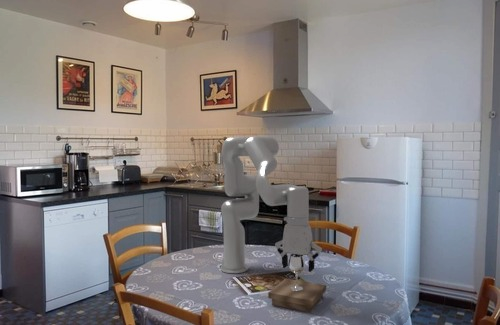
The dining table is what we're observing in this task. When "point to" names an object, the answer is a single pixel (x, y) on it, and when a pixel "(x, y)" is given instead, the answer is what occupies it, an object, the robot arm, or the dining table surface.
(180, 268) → the dining table surface
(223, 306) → the dining table surface
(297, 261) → the wineglass
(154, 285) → the dining table surface
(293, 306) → the stand
